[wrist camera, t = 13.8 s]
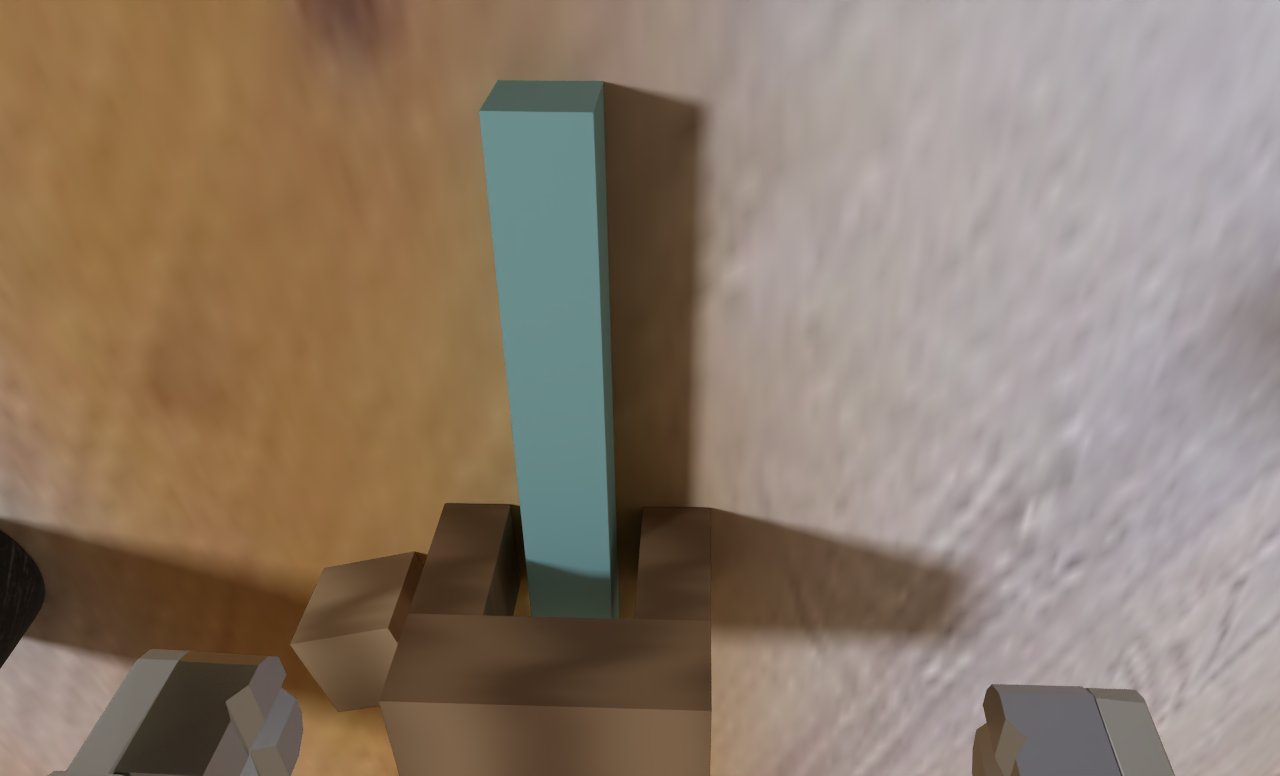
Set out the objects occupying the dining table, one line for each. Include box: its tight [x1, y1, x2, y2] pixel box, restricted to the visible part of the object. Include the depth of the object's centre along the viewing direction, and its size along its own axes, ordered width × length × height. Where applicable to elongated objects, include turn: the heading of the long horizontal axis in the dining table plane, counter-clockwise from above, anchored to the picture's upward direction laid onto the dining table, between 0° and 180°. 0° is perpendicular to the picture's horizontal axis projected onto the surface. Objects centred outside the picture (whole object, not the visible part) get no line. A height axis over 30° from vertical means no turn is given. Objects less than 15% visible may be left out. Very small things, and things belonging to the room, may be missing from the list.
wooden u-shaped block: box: [379, 504, 711, 776], centre depth 34 cm, size 10×4×9 cm, turn 91°
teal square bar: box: [479, 80, 619, 619], centre depth 33 cm, size 3×22×3 cm, turn 1°
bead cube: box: [290, 551, 423, 712], centre depth 38 cm, size 4×4×4 cm
